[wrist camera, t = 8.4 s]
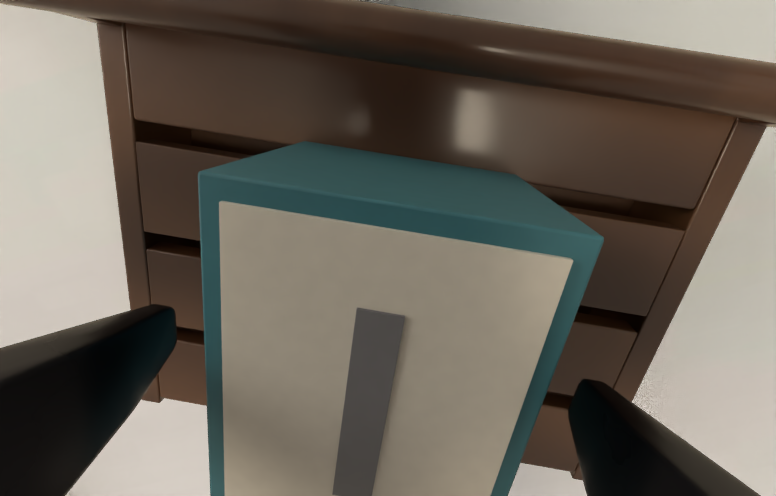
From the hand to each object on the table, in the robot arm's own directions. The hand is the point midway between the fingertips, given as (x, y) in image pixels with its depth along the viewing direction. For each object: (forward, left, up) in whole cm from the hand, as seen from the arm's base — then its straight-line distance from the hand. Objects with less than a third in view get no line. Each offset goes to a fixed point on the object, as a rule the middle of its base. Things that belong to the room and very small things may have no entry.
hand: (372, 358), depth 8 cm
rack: (0, 0, -9) cm, 9 cm away
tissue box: (0, 0, -4) cm, 4 cm away
